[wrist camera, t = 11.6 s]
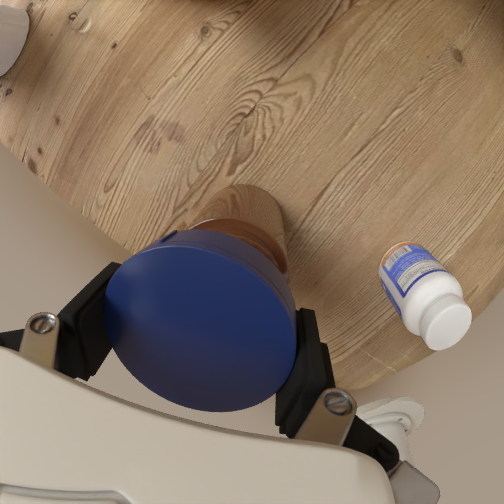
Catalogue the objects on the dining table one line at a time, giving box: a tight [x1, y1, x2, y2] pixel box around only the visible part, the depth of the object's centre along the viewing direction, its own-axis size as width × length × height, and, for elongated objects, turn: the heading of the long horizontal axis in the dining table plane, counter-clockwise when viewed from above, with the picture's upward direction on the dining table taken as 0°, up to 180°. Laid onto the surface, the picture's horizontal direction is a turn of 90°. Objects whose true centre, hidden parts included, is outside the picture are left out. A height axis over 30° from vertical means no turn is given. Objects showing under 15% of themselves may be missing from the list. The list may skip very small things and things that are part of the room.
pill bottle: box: [378, 241, 472, 350], centre depth 20 cm, size 5×5×10 cm
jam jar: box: [186, 184, 289, 284], centre depth 19 cm, size 7×7×11 cm
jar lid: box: [104, 229, 297, 412], centre depth 10 cm, size 7×7×2 cm
